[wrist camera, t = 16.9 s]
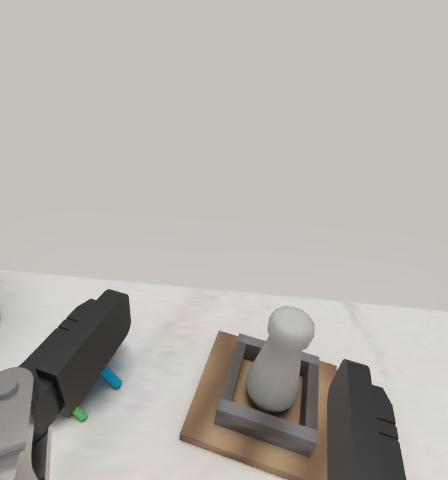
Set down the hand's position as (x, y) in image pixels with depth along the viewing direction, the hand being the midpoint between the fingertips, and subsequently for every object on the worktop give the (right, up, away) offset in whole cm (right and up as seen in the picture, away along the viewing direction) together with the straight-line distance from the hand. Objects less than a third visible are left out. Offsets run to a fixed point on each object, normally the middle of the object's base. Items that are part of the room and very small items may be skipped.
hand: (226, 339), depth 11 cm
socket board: (+5, -15, +25) cm, 30 cm away
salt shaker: (+5, -15, +24) cm, 29 cm away
